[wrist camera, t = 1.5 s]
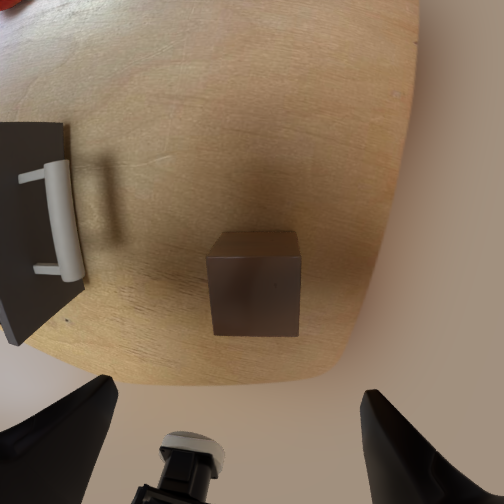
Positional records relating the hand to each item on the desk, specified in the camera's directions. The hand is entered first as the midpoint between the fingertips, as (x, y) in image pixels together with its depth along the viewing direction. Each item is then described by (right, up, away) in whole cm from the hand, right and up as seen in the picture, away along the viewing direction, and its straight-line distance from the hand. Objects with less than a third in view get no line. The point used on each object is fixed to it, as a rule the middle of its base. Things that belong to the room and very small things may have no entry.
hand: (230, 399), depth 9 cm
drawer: (-19, +8, +11) cm, 24 cm away
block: (+1, +4, +12) cm, 13 cm away
